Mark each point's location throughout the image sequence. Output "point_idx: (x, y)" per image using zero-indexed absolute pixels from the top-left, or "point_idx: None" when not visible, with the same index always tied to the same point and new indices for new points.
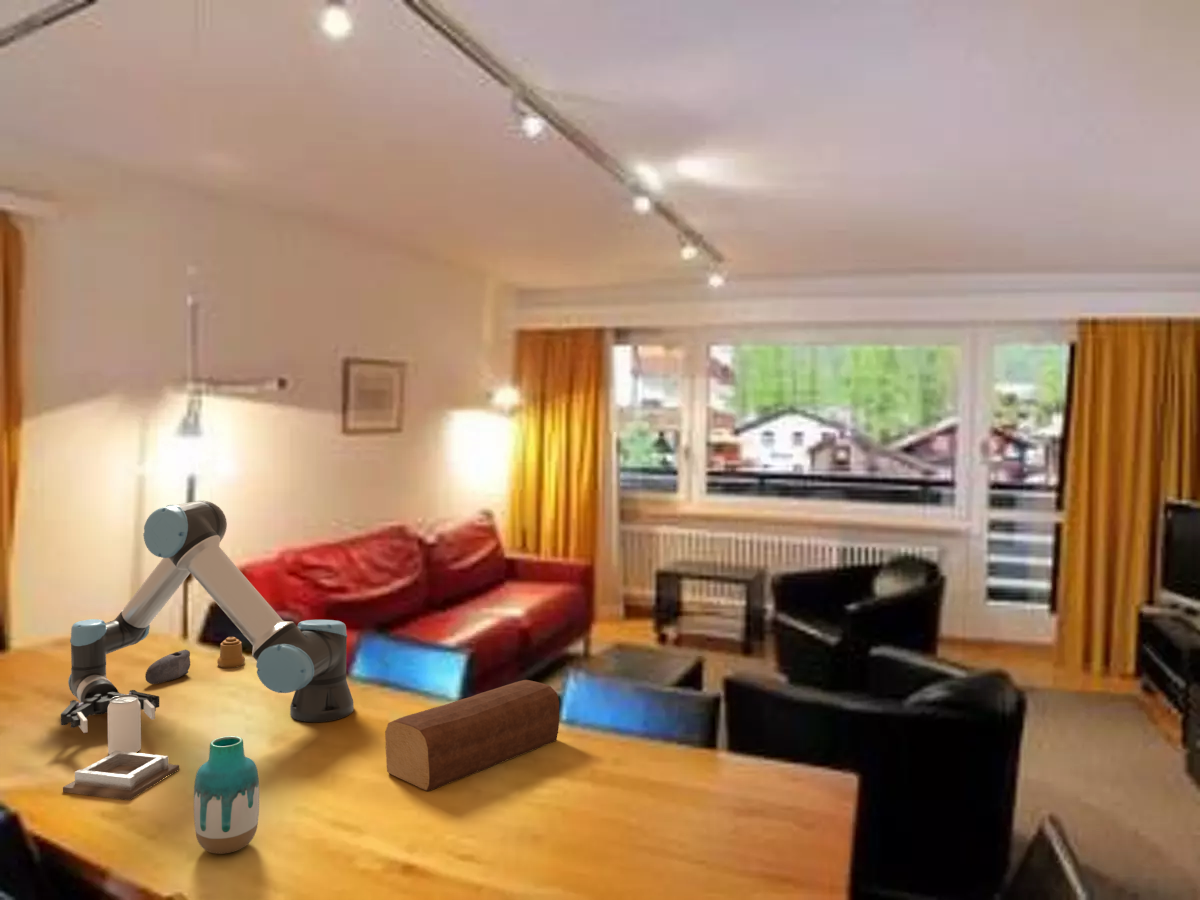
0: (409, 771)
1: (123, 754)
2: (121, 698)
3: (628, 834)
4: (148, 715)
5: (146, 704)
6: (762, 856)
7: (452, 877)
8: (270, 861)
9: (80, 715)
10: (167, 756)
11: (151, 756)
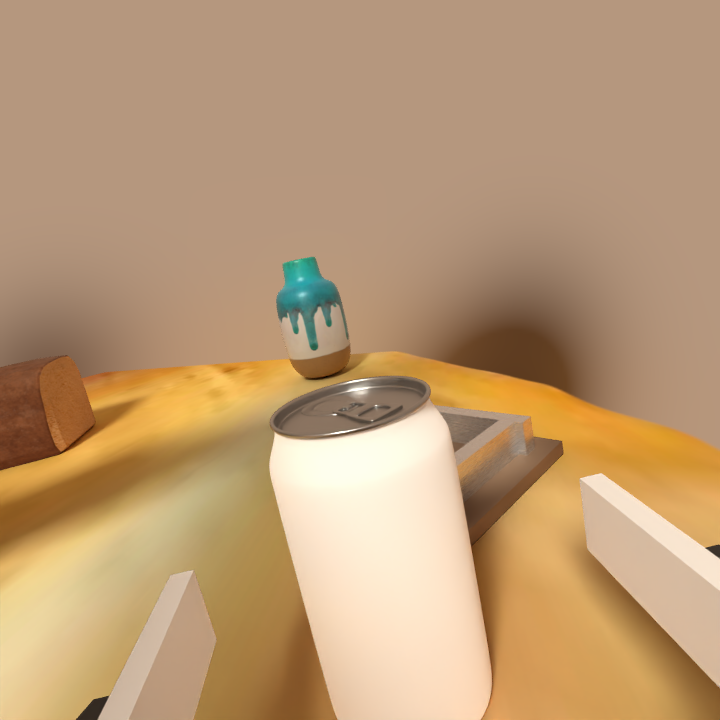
0: (80, 417)
1: None
2: (359, 417)
3: (92, 391)
4: (193, 703)
5: (147, 696)
6: (83, 382)
7: (218, 367)
8: None
9: (694, 547)
10: None
11: None
